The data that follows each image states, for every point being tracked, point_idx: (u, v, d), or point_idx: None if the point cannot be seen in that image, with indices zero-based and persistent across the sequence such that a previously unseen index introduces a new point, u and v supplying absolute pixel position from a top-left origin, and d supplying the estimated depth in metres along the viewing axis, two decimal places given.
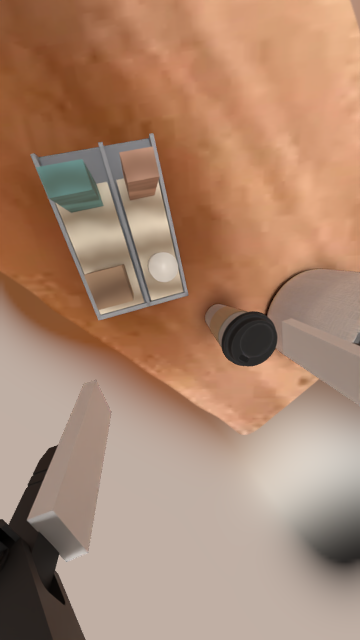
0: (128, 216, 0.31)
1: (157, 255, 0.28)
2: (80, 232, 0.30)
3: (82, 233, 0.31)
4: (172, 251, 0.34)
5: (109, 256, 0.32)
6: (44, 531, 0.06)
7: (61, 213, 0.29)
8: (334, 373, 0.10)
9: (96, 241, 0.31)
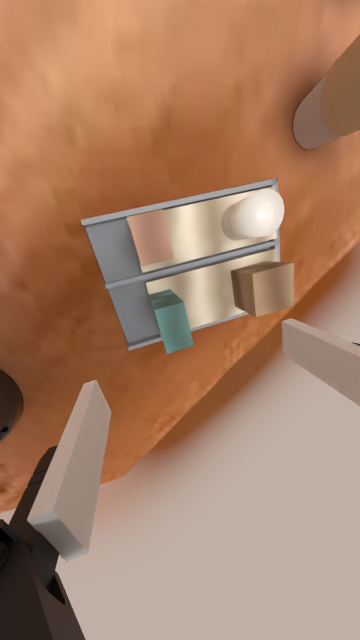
0: (179, 260, 0.25)
1: (249, 222, 0.20)
2: (196, 314, 0.28)
3: (197, 312, 0.28)
4: (221, 200, 0.24)
5: (221, 287, 0.28)
6: (44, 531, 0.06)
7: None
8: (334, 373, 0.10)
9: (205, 300, 0.28)
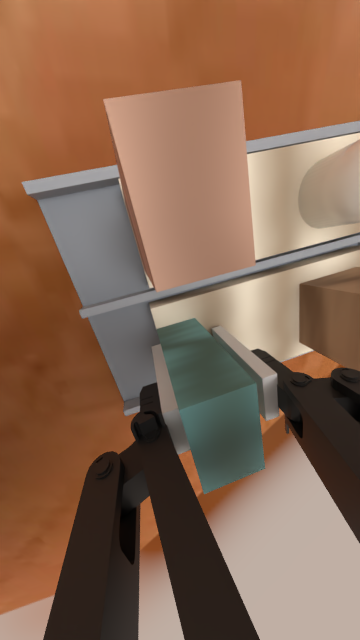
0: None
1: None
2: None
3: None
4: (303, 149, 0.12)
5: (281, 312, 0.16)
6: (168, 427, 0.09)
7: None
8: None
9: (253, 334, 0.16)
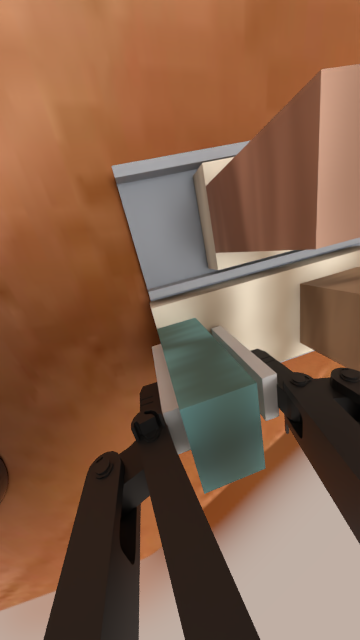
0: None
1: None
2: None
3: None
4: None
5: (281, 312, 0.16)
6: (168, 426, 0.09)
7: None
8: None
9: (254, 334, 0.16)
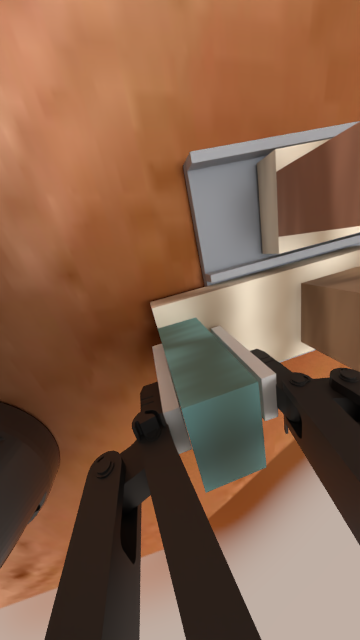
0: (337, 234, 0.15)
1: None
2: None
3: None
4: None
5: (281, 311, 0.16)
6: (168, 426, 0.09)
7: None
8: None
9: (254, 333, 0.16)
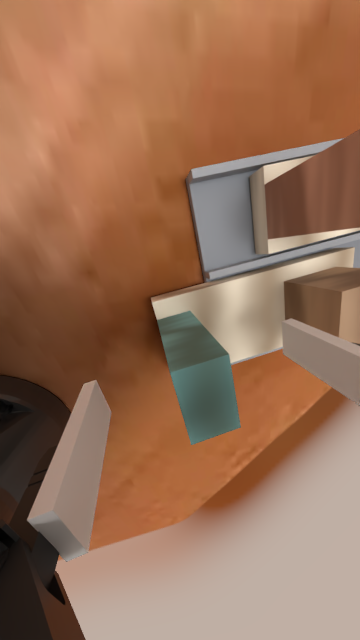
0: (320, 237, 0.17)
1: None
2: (227, 347, 0.19)
3: (229, 344, 0.19)
4: None
5: (266, 306, 0.18)
6: (44, 531, 0.06)
7: None
8: (334, 373, 0.10)
9: (242, 326, 0.18)
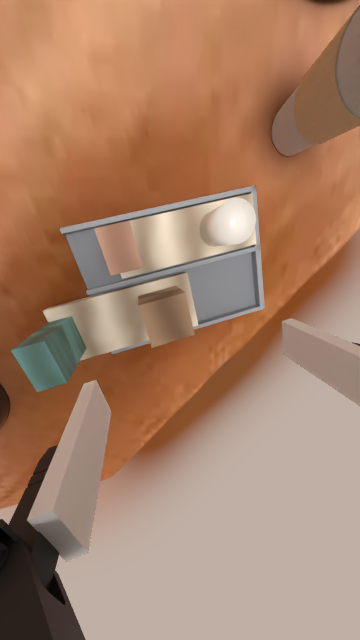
0: (159, 267, 0.26)
1: (220, 231, 0.20)
2: (106, 340, 0.27)
3: (107, 338, 0.27)
4: (198, 208, 0.24)
5: (129, 312, 0.27)
6: (44, 531, 0.06)
7: (89, 356, 0.28)
8: (334, 373, 0.10)
9: (114, 325, 0.27)
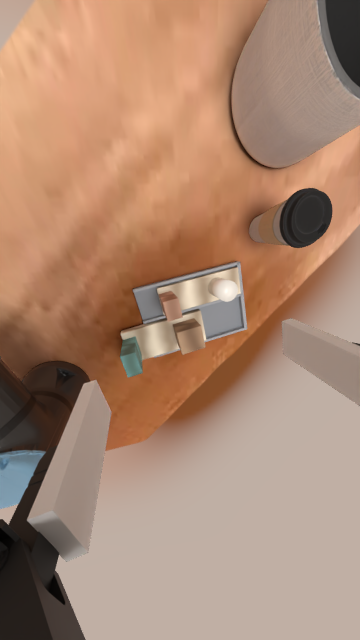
0: (184, 308, 0.45)
1: (219, 296, 0.40)
2: (152, 349, 0.47)
3: (153, 348, 0.47)
4: (207, 276, 0.44)
5: (167, 333, 0.46)
6: (44, 531, 0.06)
7: (142, 359, 0.47)
8: (334, 373, 0.10)
9: (157, 341, 0.46)
